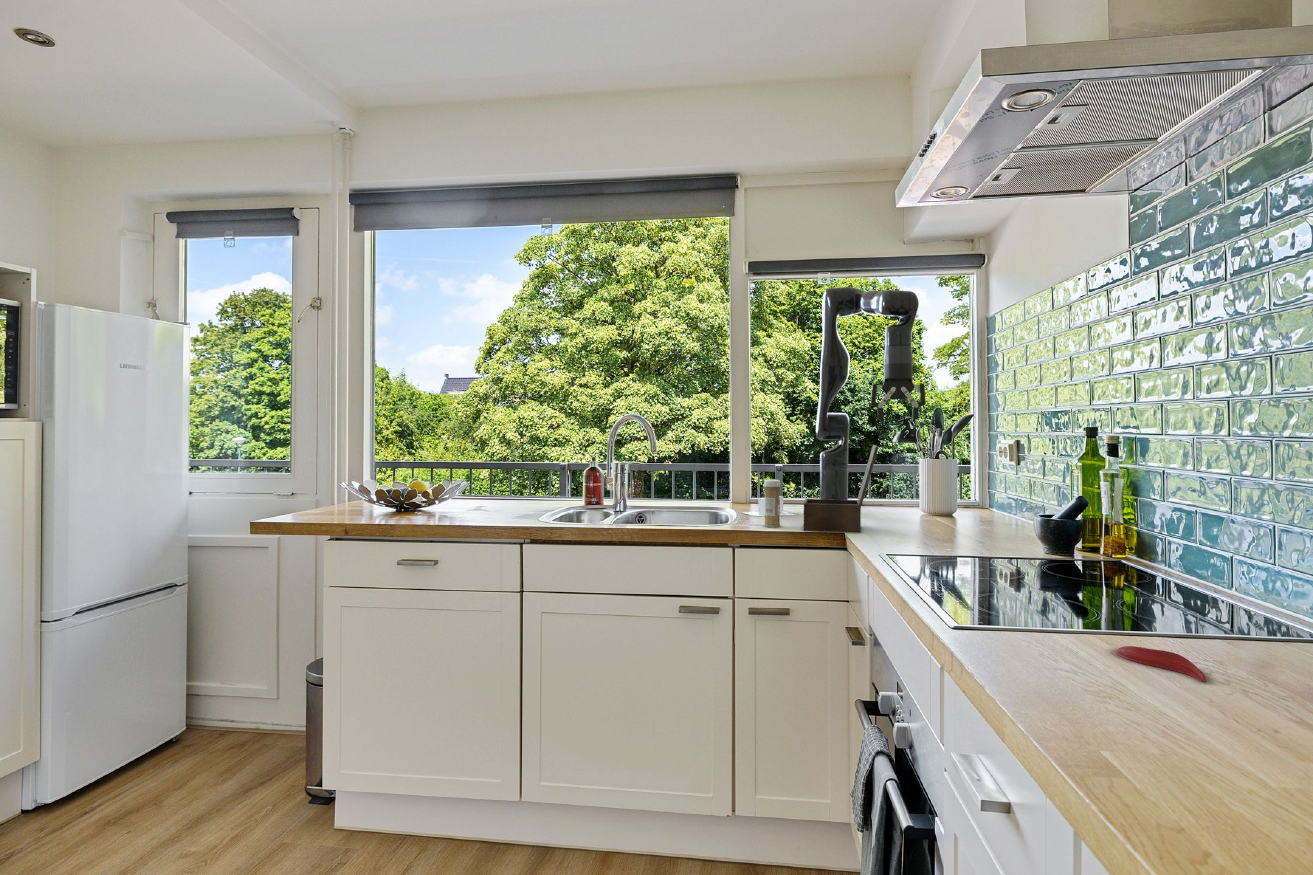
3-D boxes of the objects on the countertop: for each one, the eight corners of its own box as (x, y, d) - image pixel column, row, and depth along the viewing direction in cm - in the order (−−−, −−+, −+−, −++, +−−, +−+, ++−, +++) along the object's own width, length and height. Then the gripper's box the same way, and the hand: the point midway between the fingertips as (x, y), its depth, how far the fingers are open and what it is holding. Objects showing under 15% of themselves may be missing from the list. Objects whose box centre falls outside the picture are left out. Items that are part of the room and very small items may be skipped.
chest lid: (875, 446, 200) (878, 447, 200) (872, 444, 213) (875, 445, 212) (859, 502, 201) (862, 503, 201) (857, 498, 214) (860, 498, 214)
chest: (803, 530, 205) (803, 503, 204) (805, 524, 217) (805, 498, 217) (860, 532, 201) (860, 504, 201) (858, 526, 214) (858, 500, 214)
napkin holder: (781, 510, 251) (781, 494, 251) (797, 514, 240) (797, 497, 240) (741, 512, 247) (741, 495, 246) (755, 516, 236) (755, 498, 236)
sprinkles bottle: (783, 526, 212) (783, 480, 212) (771, 527, 210) (771, 480, 210) (772, 524, 216) (772, 478, 216) (760, 526, 214) (761, 479, 213)
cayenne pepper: (1220, 681, 85) (1221, 664, 85) (1185, 683, 85) (1185, 666, 85) (1139, 649, 97) (1139, 635, 97) (1107, 651, 97) (1107, 636, 97)
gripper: (923, 363, 206) (923, 421, 206) (870, 364, 210) (870, 421, 210) (926, 361, 199) (926, 421, 199) (871, 362, 202) (871, 421, 203)
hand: (897, 421), depth 204 cm, fingers open, 8 cm apart
